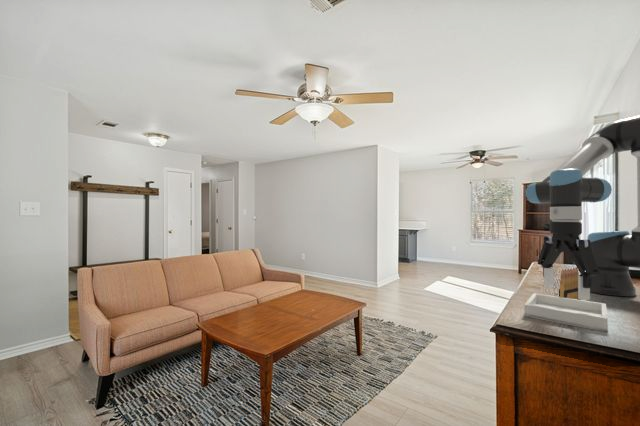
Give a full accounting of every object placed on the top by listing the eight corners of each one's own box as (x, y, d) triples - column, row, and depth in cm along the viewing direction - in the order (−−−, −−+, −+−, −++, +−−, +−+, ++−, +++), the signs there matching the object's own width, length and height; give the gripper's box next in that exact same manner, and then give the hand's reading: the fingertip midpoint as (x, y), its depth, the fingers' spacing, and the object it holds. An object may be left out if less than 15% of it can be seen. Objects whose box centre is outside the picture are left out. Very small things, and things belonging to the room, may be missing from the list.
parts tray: (533, 303, 104) (533, 293, 104) (605, 315, 91) (605, 303, 91) (524, 316, 90) (524, 304, 90) (607, 332, 78) (607, 318, 78)
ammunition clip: (564, 306, 101) (564, 270, 101) (558, 304, 103) (558, 269, 103) (581, 302, 106) (581, 267, 106) (574, 300, 107) (574, 266, 107)
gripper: (524, 220, 103) (524, 284, 103) (590, 222, 79) (590, 305, 79) (545, 220, 103) (546, 284, 103) (618, 222, 79) (618, 305, 79)
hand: (565, 293), depth 91 cm, fingers open, 11 cm apart
